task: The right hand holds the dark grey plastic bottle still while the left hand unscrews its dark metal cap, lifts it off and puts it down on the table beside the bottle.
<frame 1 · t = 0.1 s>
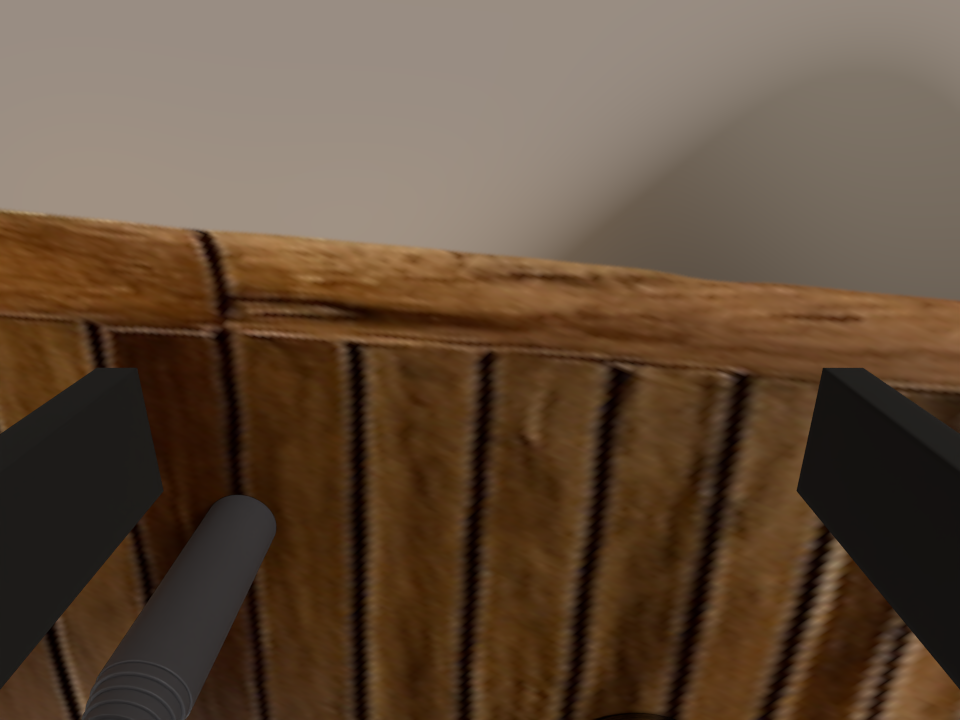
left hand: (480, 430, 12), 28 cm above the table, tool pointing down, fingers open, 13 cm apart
bottle: (242, 523, 47), on the table
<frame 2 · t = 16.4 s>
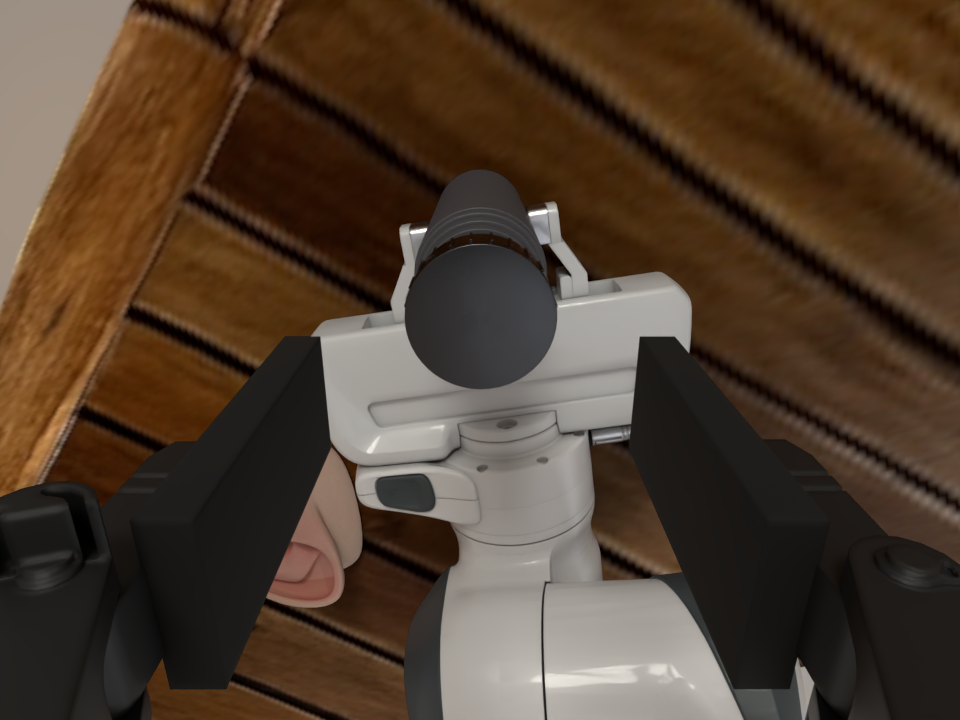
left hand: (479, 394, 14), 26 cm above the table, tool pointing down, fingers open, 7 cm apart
right hand: (476, 214, 32), fingers closed on bottle, 5 cm apart
bottle: (480, 213, 38), on the table, touching right hand
anatomical model: (280, 497, 45), on the table
cap: (480, 316, 19), point 20 cm above the table, screwed on, not yet turned
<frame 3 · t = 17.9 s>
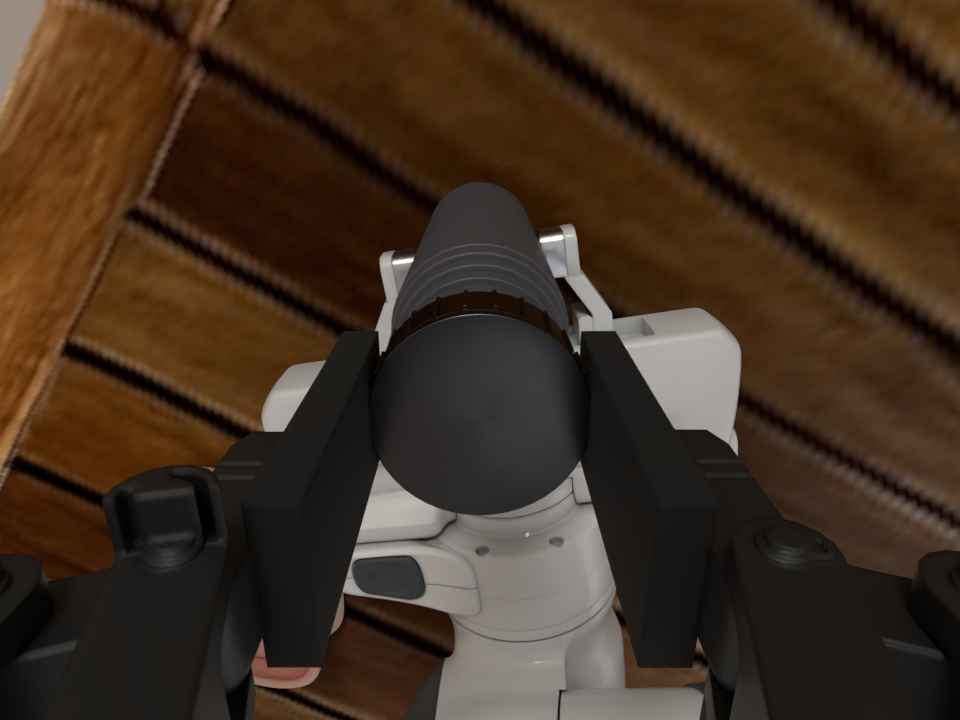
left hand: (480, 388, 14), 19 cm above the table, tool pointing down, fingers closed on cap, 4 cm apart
bottle: (479, 234, 32), on the table, touching right hand
anatomical model: (249, 559, 39), on the table
cap: (480, 414, 13), point 20 cm above the table, screwed on, not yet turned, touching left hand
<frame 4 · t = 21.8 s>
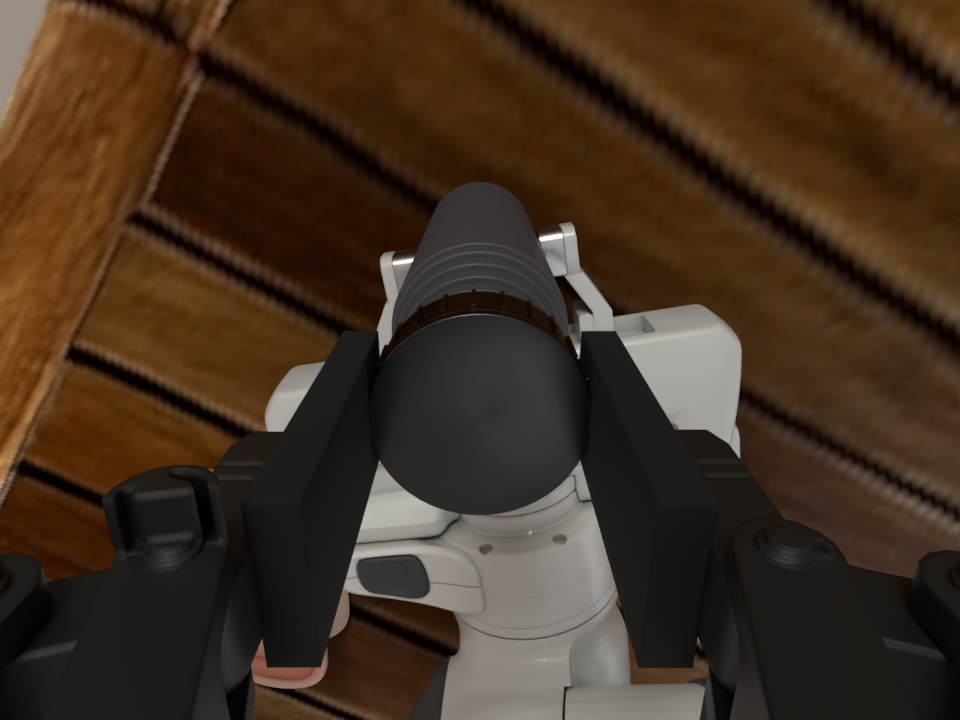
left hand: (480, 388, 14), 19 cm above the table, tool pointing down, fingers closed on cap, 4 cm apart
bottle: (479, 233, 32), on the table, touching right hand
anatomical model: (254, 560, 39), on the table
cap: (479, 414, 13), point 20 cm above the table, turned 130° so far, risen 0.1 cm, still on its thread, touching left hand
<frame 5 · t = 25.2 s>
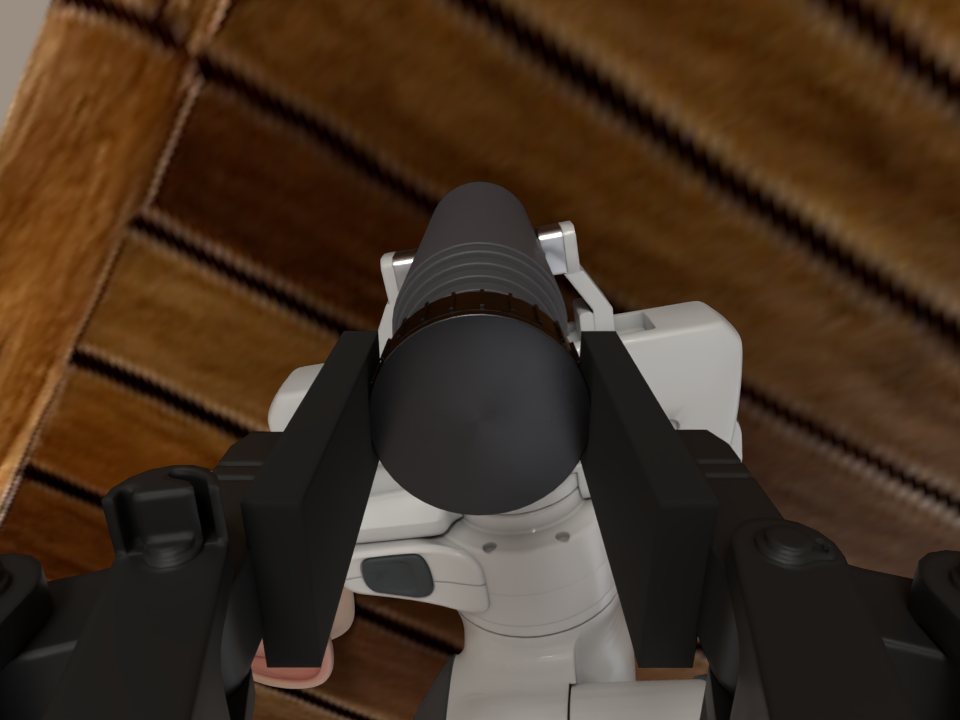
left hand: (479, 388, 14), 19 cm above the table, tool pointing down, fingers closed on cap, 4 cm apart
bottle: (479, 233, 32), on the table, touching right hand
anatomical model: (259, 561, 39), on the table
cap: (479, 415, 13), point 20 cm above the table, turned 260° so far, risen 0.2 cm, still on its thread, touching left hand
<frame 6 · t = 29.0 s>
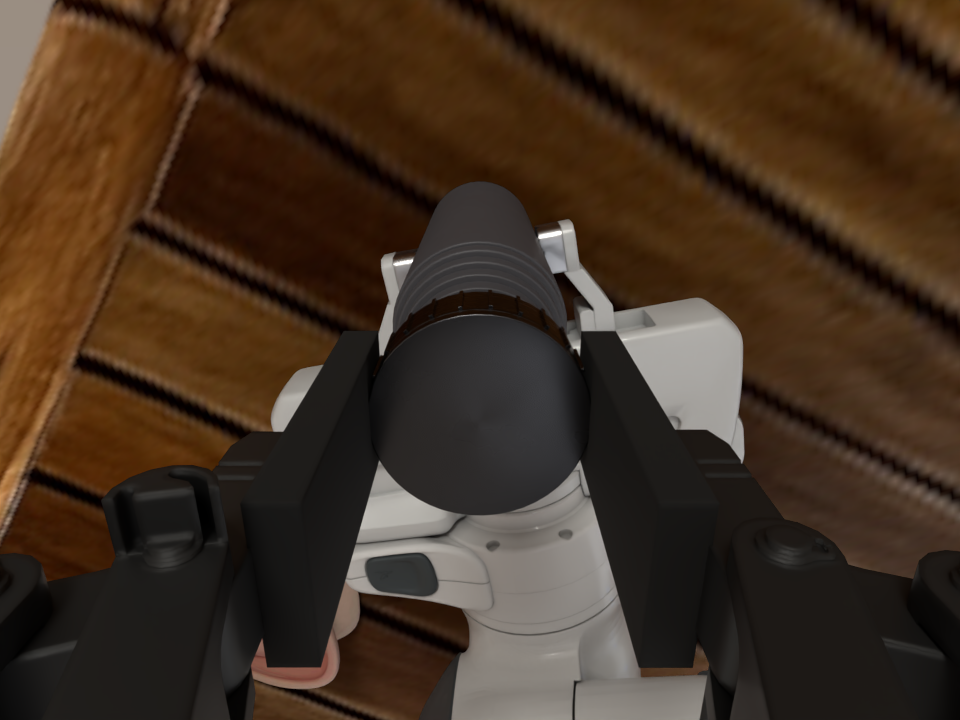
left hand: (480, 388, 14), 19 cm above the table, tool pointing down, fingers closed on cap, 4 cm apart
bottle: (479, 232, 32), on the table, touching right hand
anatomical model: (264, 562, 40), on the table
cap: (479, 415, 13), point 20 cm above the table, turned 390° so far, risen 0.3 cm, still on its thread, touching left hand
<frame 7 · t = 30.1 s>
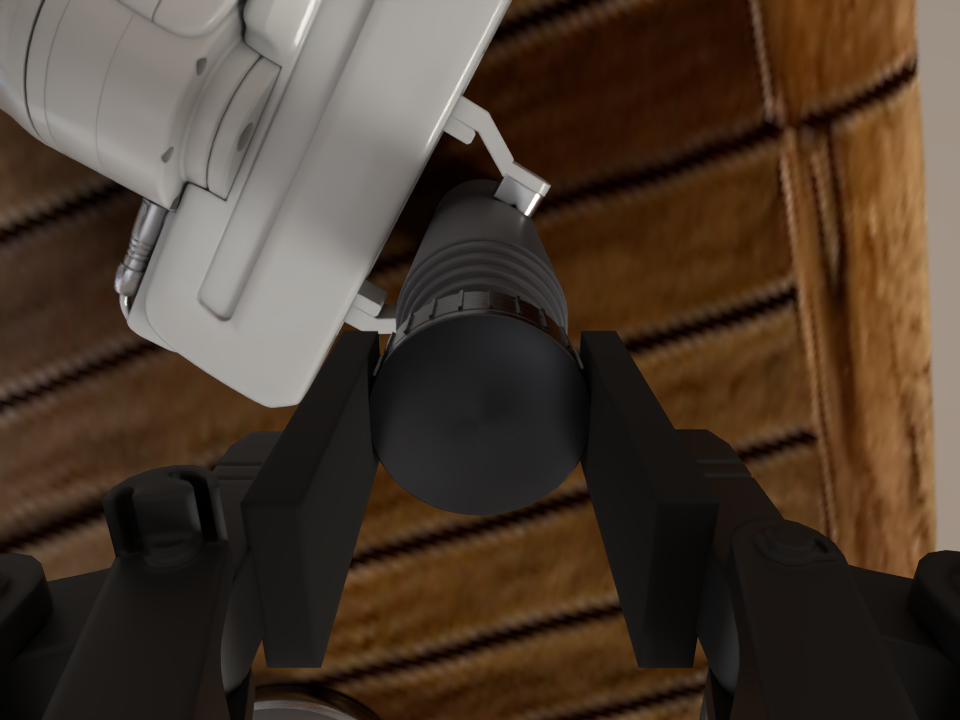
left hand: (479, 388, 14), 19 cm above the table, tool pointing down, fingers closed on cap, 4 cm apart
right hand: (500, 266, 27), fingers closed on bottle, 5 cm apart
bottle: (481, 230, 32), on the table, touching right hand
cap: (479, 414, 13), point 21 cm above the table, off its thread, touching left hand
when the left hand's fingers open (1 cm above the table, at t = 35.7 s): cap drops 1 cm, point 1 cm above the table.
when the right hand's fingers open (6 cm above the table, at t = 37.0 s): bottle stays where it is, on the table.
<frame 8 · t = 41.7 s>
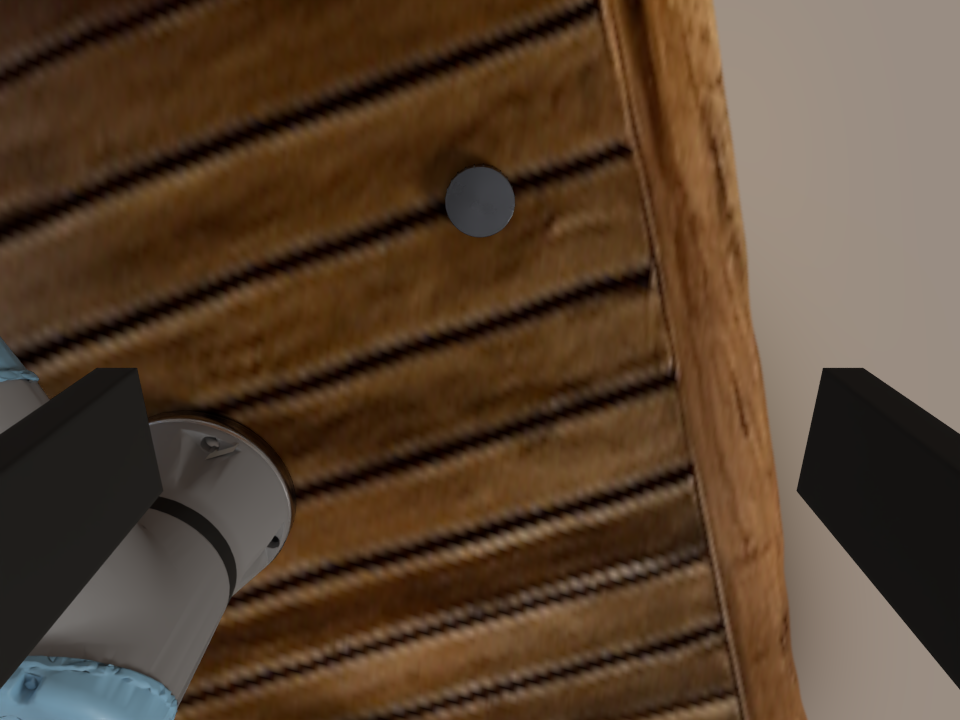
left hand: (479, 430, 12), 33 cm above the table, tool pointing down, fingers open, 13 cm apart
cap: (480, 202, 42), point 1 cm above the table, off its thread
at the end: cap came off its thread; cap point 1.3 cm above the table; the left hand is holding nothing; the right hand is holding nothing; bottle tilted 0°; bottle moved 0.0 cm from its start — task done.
